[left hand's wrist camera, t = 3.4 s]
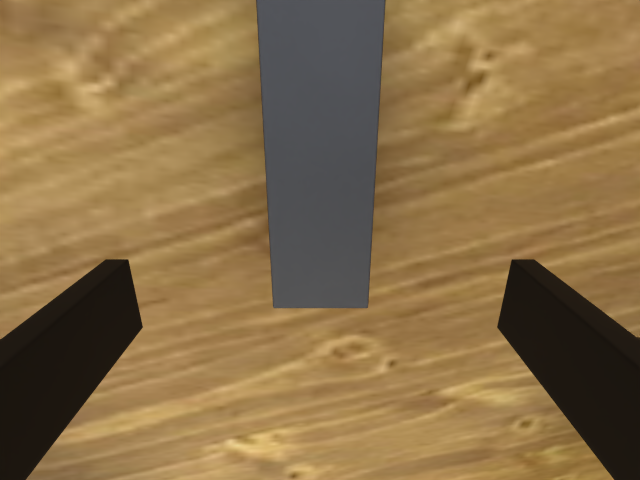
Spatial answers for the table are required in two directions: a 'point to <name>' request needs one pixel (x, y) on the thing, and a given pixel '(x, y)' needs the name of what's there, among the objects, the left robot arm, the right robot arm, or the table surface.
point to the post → (320, 146)
